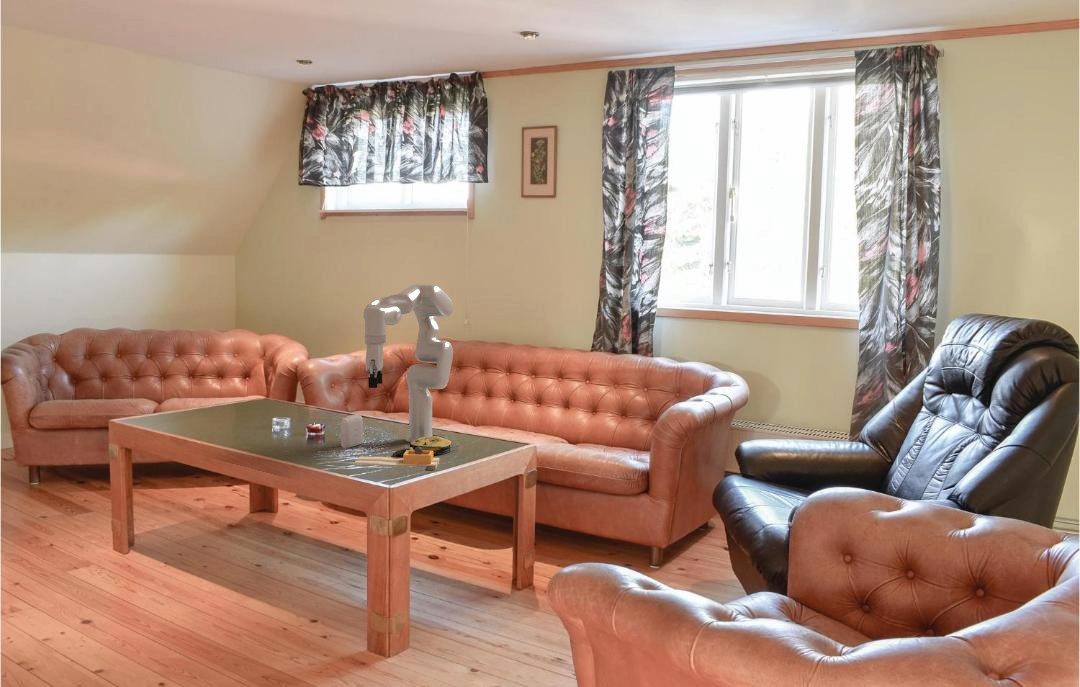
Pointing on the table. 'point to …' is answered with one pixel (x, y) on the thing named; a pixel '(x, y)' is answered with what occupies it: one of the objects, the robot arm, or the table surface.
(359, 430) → the photo printer
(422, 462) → the link
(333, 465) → the table surface
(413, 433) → the robot arm
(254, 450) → the table surface
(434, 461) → the keeper board
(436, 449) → the pulley block
